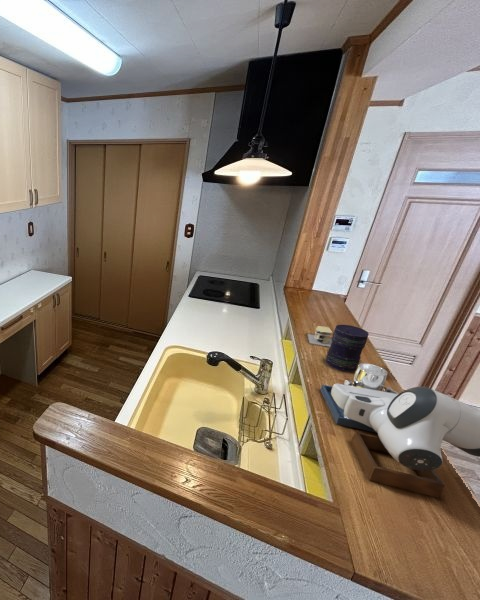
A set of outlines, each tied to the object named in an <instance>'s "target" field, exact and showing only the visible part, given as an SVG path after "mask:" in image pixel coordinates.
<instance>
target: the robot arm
mask: <svg viewBox="0 0 480 600" xmlns="http://www.w3.org/2000/svg"><path fill="white" fill-rule="evenodd" d="M352 385H353V382H352V380H348V379H345V380H344V382H343V383H334V384H333V385H332V390H331V395H332V397H333V399H334V401H335V402H336V404H337V405H338V406H339V407H340V408H341V409H343V410H344V415H345V416H346V417H347V418H350V419H352V420H355V421H358V422H360V423H363V424H365V425H367V426H369V427H371V428H373V429H374V430H375V431H376V432H377V436H379V438H380V440H381V442H382V443H383V445H384V446H385V448H386V449H387V451H388V452H389V453H388V454H389V455H390V456H391V457H392V458H393V459H394V460H395V461H396V462H397V463H398V464H400V465H401V466H403V467H406V468H409V469H411V470H413V471H414V470H415V471H416V470H420V471H430V470H434V471H435V470H437V469H440V467H441V466H442V465H443V463H444V460H443V455H442V451H441V450H442V449H441V447H442V442H445V443H448V444H450V445H451V446H453V447H455V448H457V449H459V450H460V451H463V452H464V453H466V454H468V455H471V456H474V457H479V458H480V407H477V406H472V405H470V404H467V403H464V402H463V401H460V400H459V399H456V398H453V397H452V396H450V395H447V394H445V393H443V392H441V391H438V390H435V389H432V388H431V387H428V386H414V387H410V388H407V389H405V390H403V391H401V392H398V391H395V390H394V389H393V388H392V387H390V386H384V387H383V389H382V391H377V390H371V389H366V388H360V387H354V386H352ZM376 432H375V433H376Z"/></svg>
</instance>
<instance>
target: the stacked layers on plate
mask: <svg viewBox="0 0 480 600" xmlns="http://www.w3.org/2000/svg"><path fill="white" fill-rule="evenodd" d="M314 333H315V334H310V333H307V334H306V335H307V339H308V342H309V344H312V345H317V346H324V347H328V348H330V346H331V343H332V337H331V336H333V331H332V330H331V328H330V327H329V326H323V325H317V326H316V328H315V330H314Z"/></svg>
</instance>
